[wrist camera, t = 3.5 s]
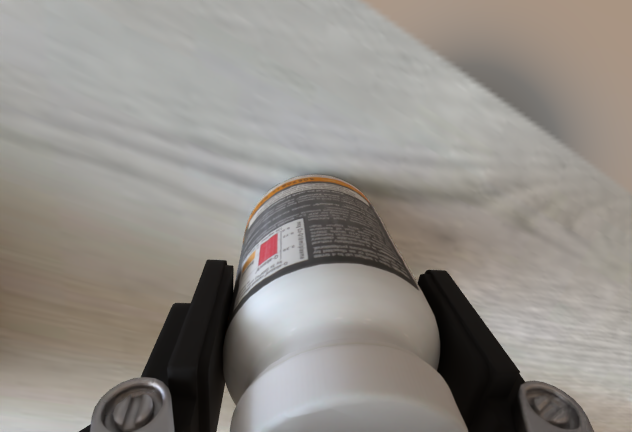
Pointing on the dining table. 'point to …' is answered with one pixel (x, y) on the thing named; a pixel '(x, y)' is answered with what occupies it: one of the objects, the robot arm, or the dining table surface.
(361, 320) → the pill bottle
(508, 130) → the dining table surface
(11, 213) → the dining table surface
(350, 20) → the dining table surface
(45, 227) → the dining table surface
